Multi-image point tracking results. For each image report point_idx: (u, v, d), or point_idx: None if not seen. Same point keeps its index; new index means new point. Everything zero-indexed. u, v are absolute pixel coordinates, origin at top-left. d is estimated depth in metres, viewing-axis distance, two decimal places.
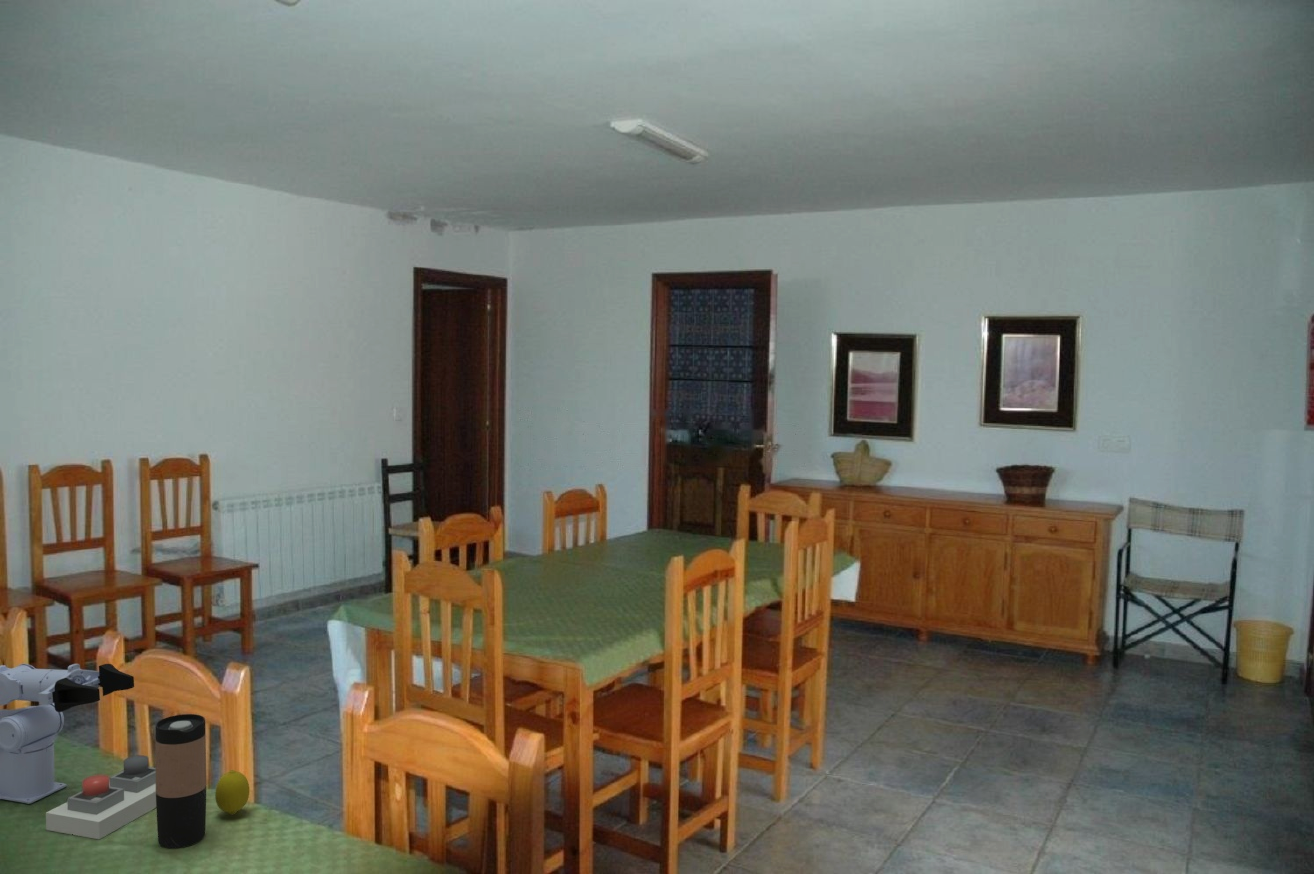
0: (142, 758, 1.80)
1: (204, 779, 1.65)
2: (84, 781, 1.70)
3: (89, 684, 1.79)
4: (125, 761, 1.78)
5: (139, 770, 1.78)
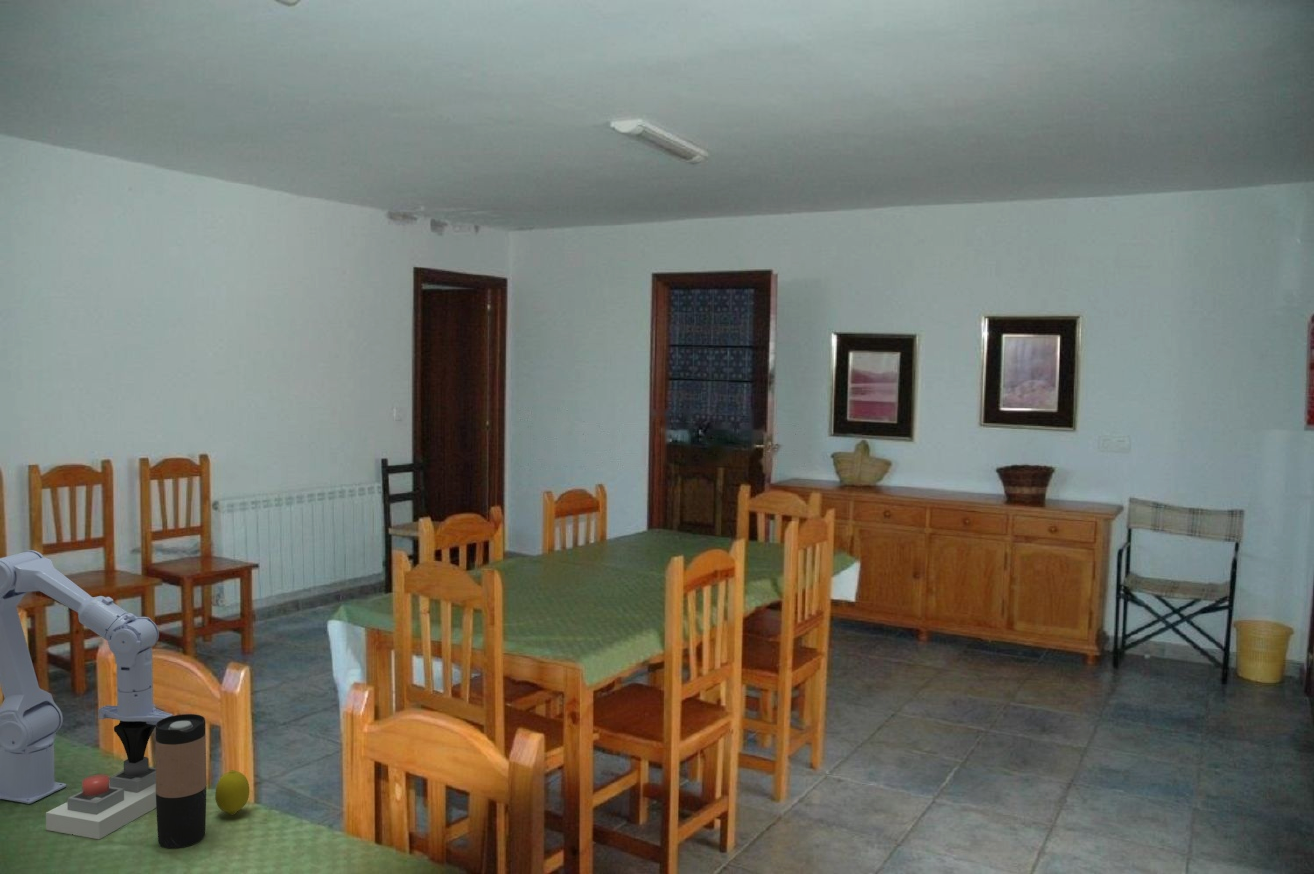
0: None
1: (204, 779, 1.65)
2: (84, 781, 1.70)
3: None
4: (125, 762, 1.78)
5: (139, 771, 1.78)
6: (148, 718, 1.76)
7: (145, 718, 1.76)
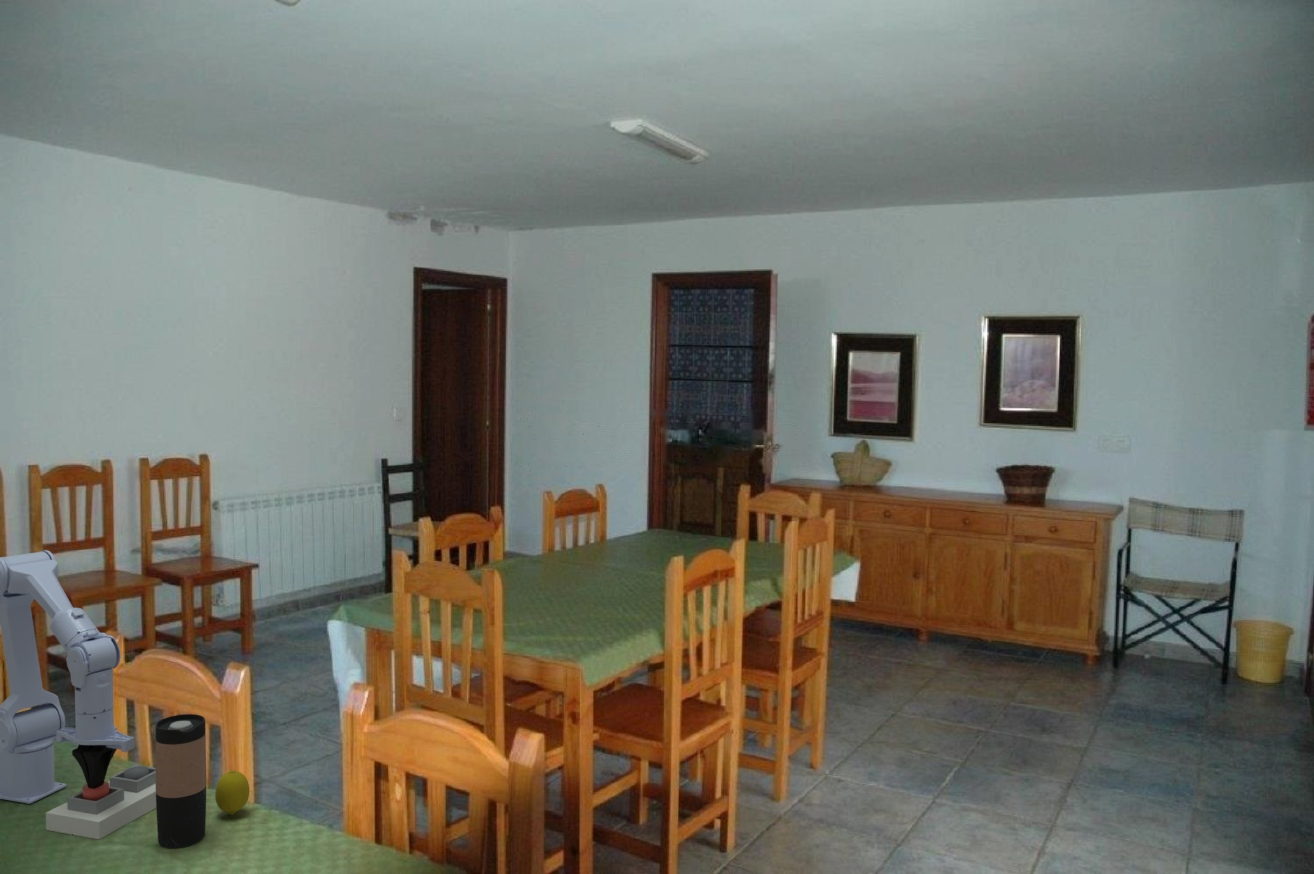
0: (142, 769, 1.80)
1: (204, 779, 1.65)
2: (84, 788, 1.70)
3: None
4: (125, 772, 1.78)
5: None
6: (108, 742, 1.67)
7: (104, 742, 1.67)
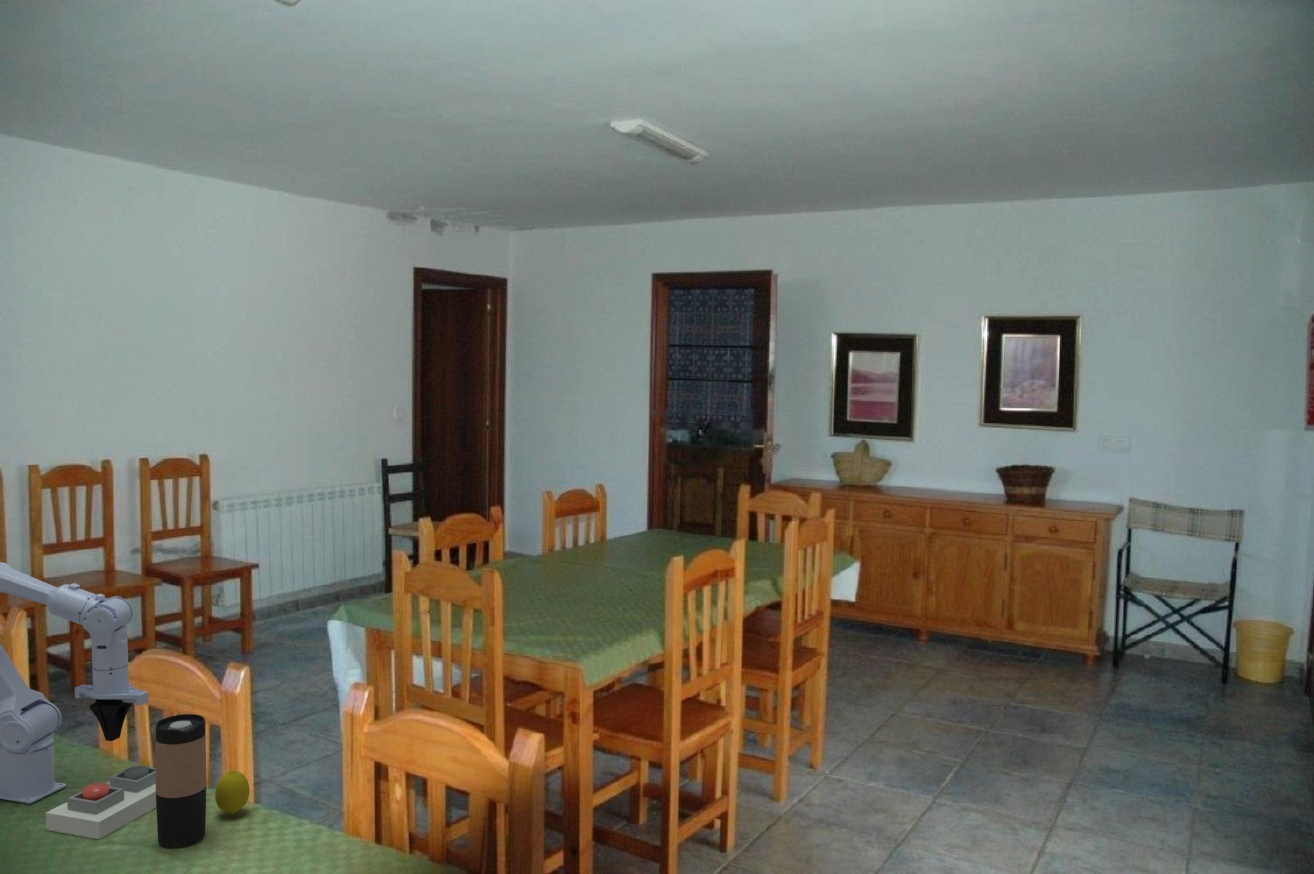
0: (142, 769, 1.80)
1: (204, 779, 1.65)
2: (84, 789, 1.70)
3: None
4: (125, 772, 1.78)
5: None
6: (123, 696, 1.78)
7: (120, 696, 1.78)
